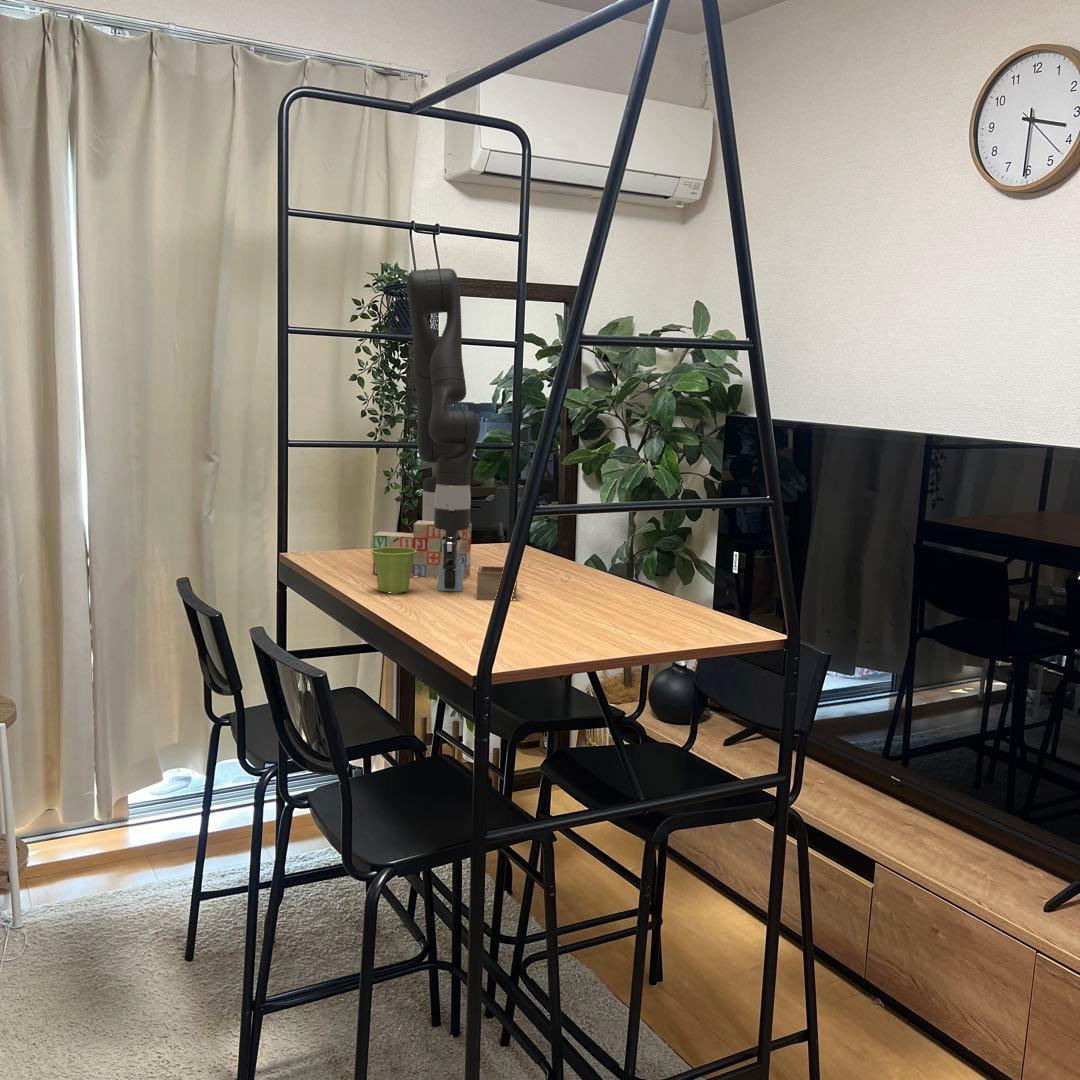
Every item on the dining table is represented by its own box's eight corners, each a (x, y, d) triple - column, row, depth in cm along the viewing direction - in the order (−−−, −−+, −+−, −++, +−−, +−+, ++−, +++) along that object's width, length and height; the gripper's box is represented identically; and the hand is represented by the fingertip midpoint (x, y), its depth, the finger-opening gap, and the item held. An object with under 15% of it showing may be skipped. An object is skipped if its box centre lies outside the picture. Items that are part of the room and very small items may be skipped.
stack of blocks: (372, 575, 236) (372, 521, 234) (378, 571, 242) (379, 518, 240) (466, 580, 234) (467, 525, 232) (470, 575, 240) (471, 522, 239)
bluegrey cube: (439, 586, 225) (440, 563, 224) (463, 587, 225) (463, 563, 224) (437, 590, 220) (438, 567, 219) (461, 591, 220) (462, 567, 219)
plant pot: (371, 595, 212) (371, 553, 211) (369, 587, 221) (369, 546, 220) (417, 595, 214) (418, 553, 213) (413, 587, 223) (414, 546, 222)
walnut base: (478, 591, 220) (479, 566, 219) (516, 593, 220) (517, 567, 220) (476, 599, 212) (477, 572, 212) (516, 600, 212) (517, 573, 212)
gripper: (437, 501, 227) (435, 579, 229) (431, 509, 212) (429, 591, 215) (472, 502, 227) (469, 580, 229) (468, 510, 213) (466, 592, 215)
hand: (450, 585), depth 222 cm, fingers closed on bluegrey cube, 5 cm apart
